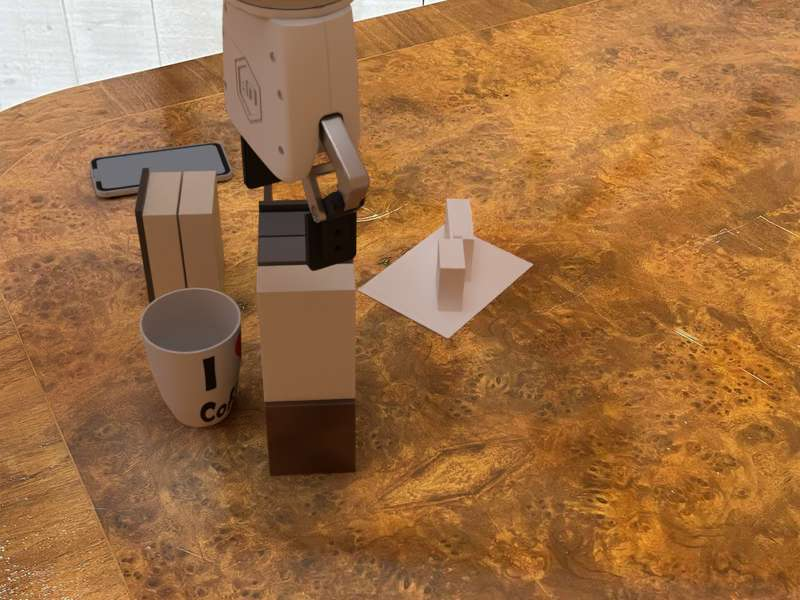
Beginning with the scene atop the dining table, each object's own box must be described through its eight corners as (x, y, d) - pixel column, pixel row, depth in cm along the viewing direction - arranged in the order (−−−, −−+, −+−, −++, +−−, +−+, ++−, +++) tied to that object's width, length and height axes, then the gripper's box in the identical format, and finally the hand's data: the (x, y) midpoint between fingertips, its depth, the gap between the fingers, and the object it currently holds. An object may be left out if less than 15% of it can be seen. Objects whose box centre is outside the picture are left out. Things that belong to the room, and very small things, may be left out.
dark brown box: (269, 475, 87) (264, 407, 82) (270, 373, 96) (266, 305, 91) (355, 472, 87) (355, 403, 82) (348, 370, 97) (348, 303, 91)
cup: (211, 454, 88) (199, 366, 82) (134, 417, 91) (117, 330, 85) (267, 394, 94) (260, 308, 87) (193, 361, 97) (181, 276, 90)
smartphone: (234, 174, 119) (96, 193, 115) (234, 181, 120) (97, 201, 115) (220, 140, 124) (88, 157, 120) (220, 147, 125) (89, 164, 121)
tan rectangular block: (264, 402, 82) (256, 292, 75) (265, 375, 84) (257, 266, 77) (355, 398, 83) (355, 289, 76) (353, 371, 85) (353, 263, 78)
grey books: (265, 370, 85) (256, 256, 77) (266, 312, 90) (258, 200, 83) (353, 367, 85) (353, 253, 78) (349, 309, 91) (348, 198, 83)
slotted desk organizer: (150, 309, 102) (134, 210, 95) (156, 264, 108) (142, 167, 100) (276, 305, 103) (270, 207, 96) (276, 260, 109) (270, 164, 101)
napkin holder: (444, 222, 114) (447, 177, 111) (534, 263, 109) (541, 218, 106) (356, 290, 105) (356, 244, 102) (449, 339, 100) (453, 292, 96)
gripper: (168, -80, 62) (194, 168, 73) (292, 45, 51) (301, 316, 62) (286, -99, 65) (295, 143, 76) (428, 15, 54) (414, 280, 65)
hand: (297, 220), depth 69 cm, fingers open, 9 cm apart
